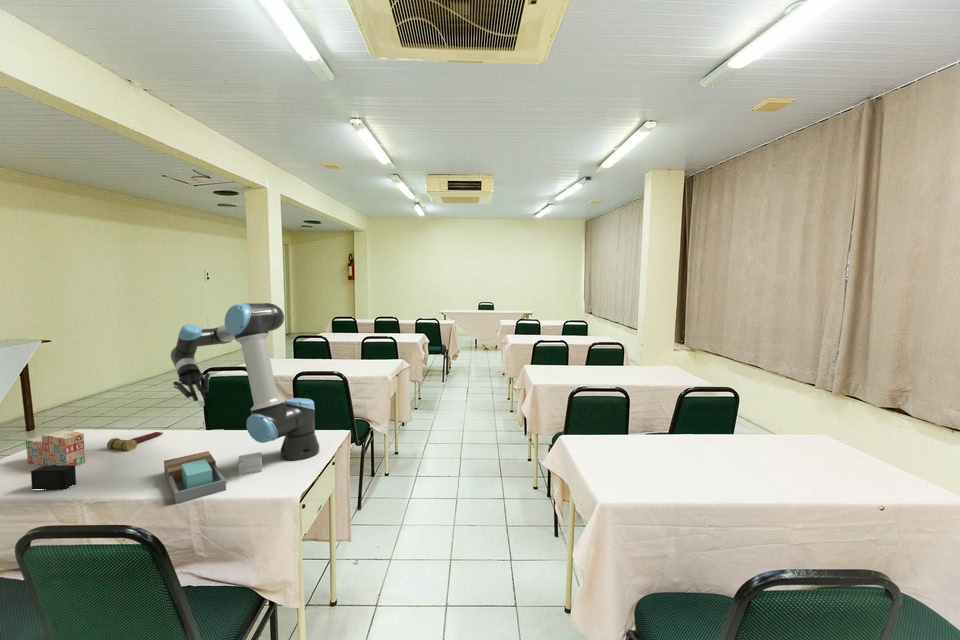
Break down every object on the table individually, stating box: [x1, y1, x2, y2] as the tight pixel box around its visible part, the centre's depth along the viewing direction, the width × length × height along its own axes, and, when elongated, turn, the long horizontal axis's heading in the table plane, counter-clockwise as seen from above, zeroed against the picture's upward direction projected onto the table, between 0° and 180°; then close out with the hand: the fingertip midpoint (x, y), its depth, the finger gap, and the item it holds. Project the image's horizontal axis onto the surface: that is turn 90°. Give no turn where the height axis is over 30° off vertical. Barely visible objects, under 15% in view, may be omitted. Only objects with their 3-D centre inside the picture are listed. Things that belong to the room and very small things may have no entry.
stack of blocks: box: [25, 429, 86, 467], centre depth 160 cm, size 21×6×12 cm, turn 76°
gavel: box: [106, 431, 164, 452], centre depth 183 cm, size 21×5×10 cm
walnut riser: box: [163, 450, 217, 486], centre depth 153 cm, size 13×14×5 cm
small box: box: [237, 452, 263, 477], centre depth 157 cm, size 8×8×5 cm
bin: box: [168, 464, 227, 505], centre depth 142 cm, size 16×14×4 cm
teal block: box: [182, 459, 213, 490], centre depth 142 cm, size 7×7×12 cm
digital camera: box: [30, 465, 77, 491], centre depth 142 cm, size 10×5×7 cm, turn 96°
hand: (202, 403), depth 160 cm, fingers closed
